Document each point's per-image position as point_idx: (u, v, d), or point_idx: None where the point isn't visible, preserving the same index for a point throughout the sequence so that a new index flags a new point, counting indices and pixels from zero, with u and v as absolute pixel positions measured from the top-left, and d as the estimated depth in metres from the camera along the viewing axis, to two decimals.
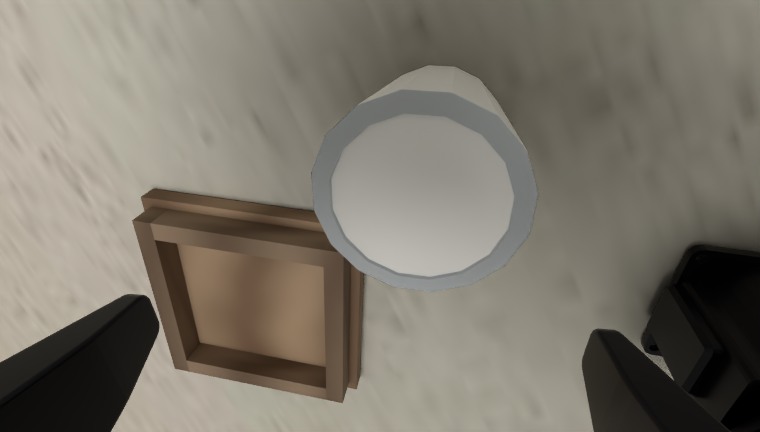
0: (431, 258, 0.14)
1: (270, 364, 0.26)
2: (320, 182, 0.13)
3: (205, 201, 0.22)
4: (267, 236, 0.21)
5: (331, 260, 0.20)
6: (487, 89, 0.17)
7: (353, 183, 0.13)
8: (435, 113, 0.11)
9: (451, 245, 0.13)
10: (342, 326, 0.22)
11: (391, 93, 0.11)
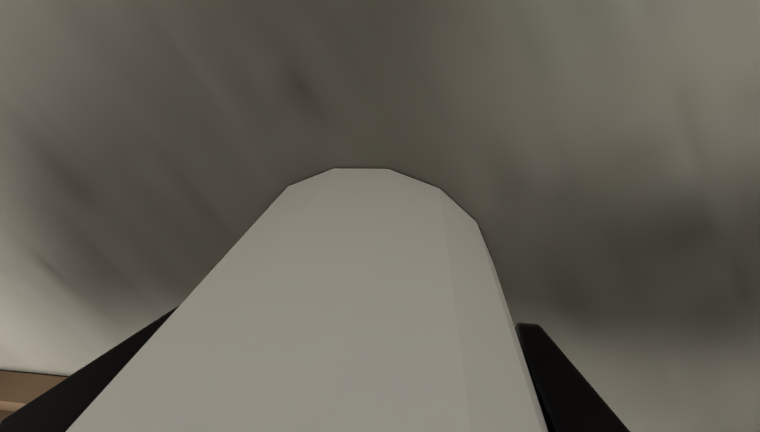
0: None
1: None
2: None
3: (5, 388, 0.13)
4: None
5: None
6: (458, 213, 0.08)
7: None
8: None
9: None
10: None
11: None
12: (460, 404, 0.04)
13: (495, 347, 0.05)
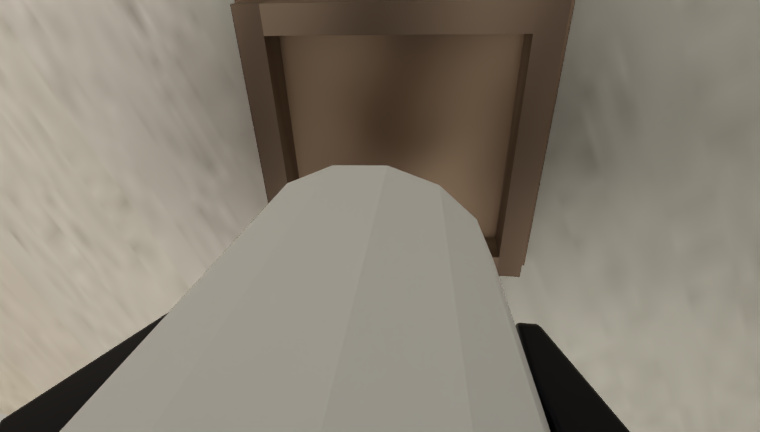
0: None
1: None
2: None
3: None
4: None
5: (549, 17, 0.13)
6: (458, 210, 0.08)
7: None
8: None
9: None
10: (543, 143, 0.15)
11: None
12: (461, 400, 0.04)
13: (496, 344, 0.05)
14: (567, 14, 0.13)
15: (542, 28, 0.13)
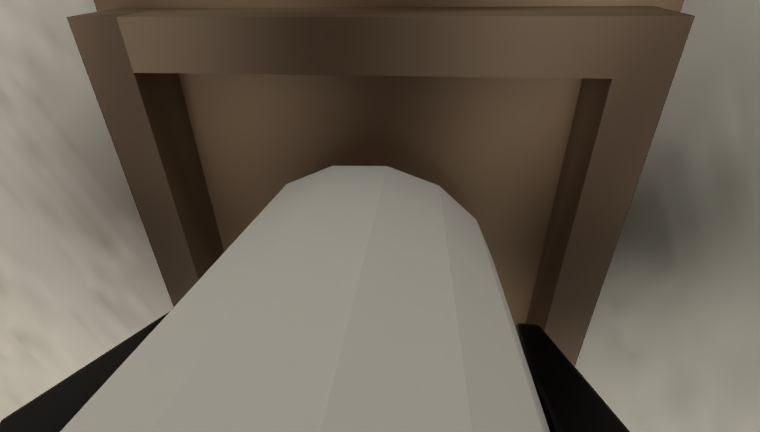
0: None
1: None
2: None
3: None
4: (446, 13, 0.08)
5: (645, 50, 0.07)
6: (457, 211, 0.08)
7: None
8: None
9: None
10: (610, 252, 0.09)
11: None
12: (461, 401, 0.04)
13: (495, 344, 0.05)
14: (680, 45, 0.07)
15: (630, 69, 0.07)
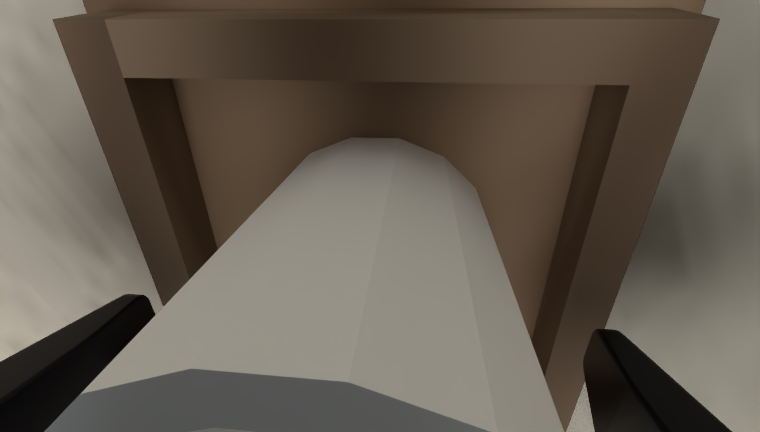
0: None
1: None
2: None
3: None
4: (453, 15, 0.07)
5: (665, 55, 0.07)
6: (460, 178, 0.09)
7: None
8: (307, 428, 0.04)
9: None
10: (624, 266, 0.09)
11: (167, 372, 0.04)
12: (465, 294, 0.05)
13: (491, 271, 0.07)
14: (703, 50, 0.07)
15: (649, 76, 0.07)
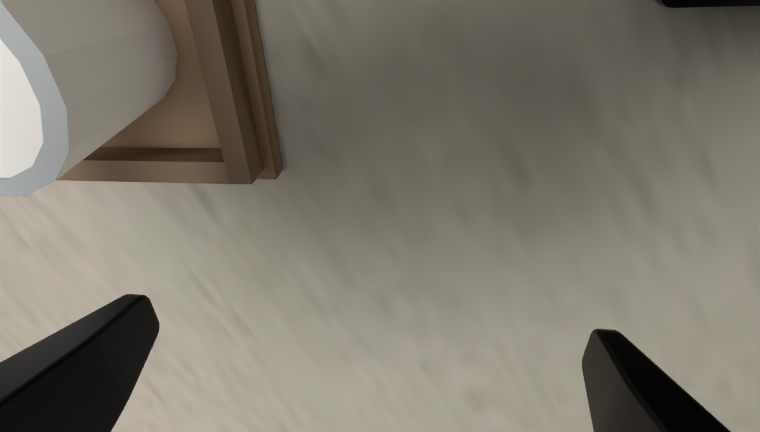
0: None
1: (149, 152, 0.19)
2: None
3: None
4: None
5: None
6: None
7: None
8: None
9: (5, 134, 0.12)
10: (216, 25, 0.15)
11: None
12: None
13: None
14: None
15: None
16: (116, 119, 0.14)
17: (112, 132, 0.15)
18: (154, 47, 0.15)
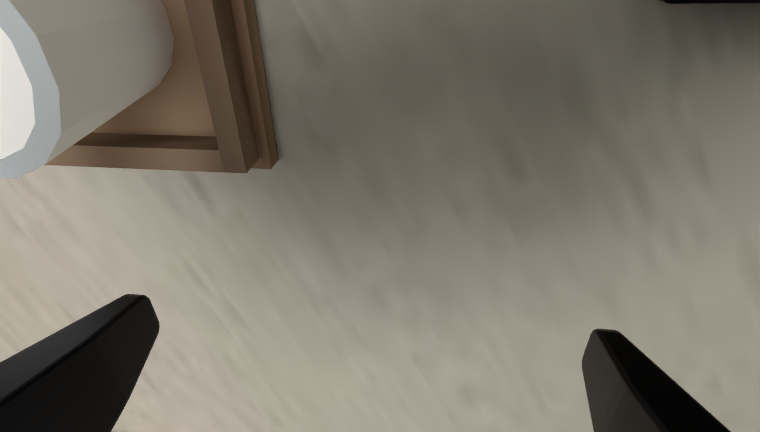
0: None
1: (144, 139, 0.19)
2: None
3: None
4: None
5: None
6: None
7: None
8: None
9: None
10: (213, 11, 0.15)
11: None
12: None
13: None
14: None
15: None
16: (110, 103, 0.14)
17: (106, 116, 0.15)
18: (150, 32, 0.15)
